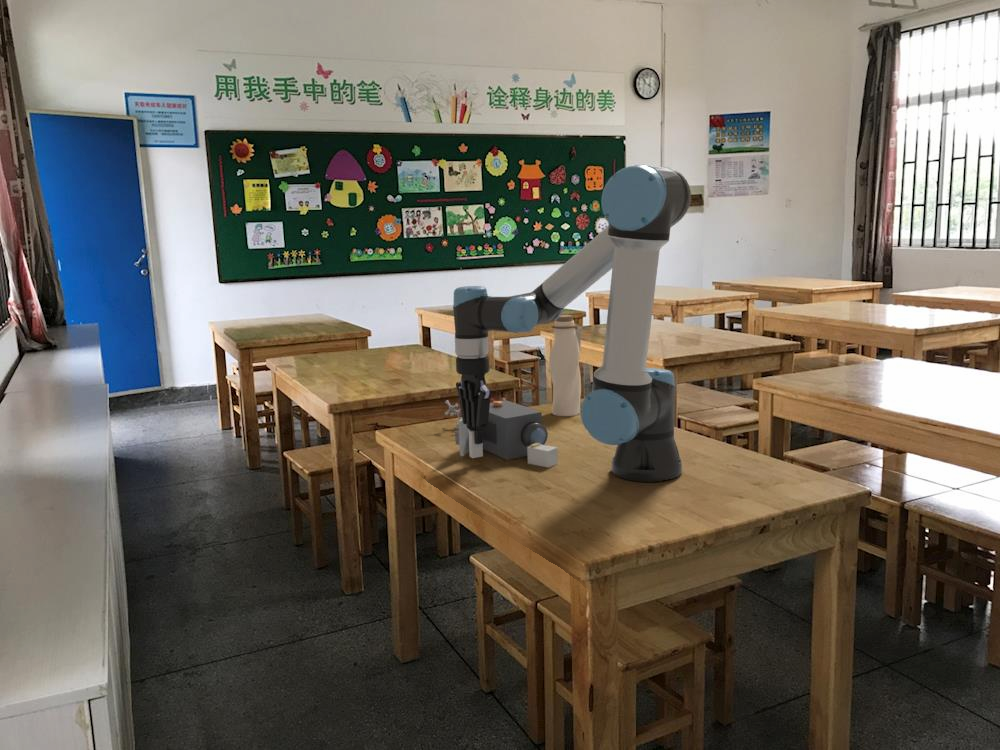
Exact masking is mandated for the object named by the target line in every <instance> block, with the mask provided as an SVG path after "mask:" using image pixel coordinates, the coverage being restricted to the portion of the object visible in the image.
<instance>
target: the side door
mask: <svg viewBox="0 0 1000 750" xmlns="http://www.w3.org/2000/svg"><path fill="white" fill-rule="evenodd" d="M457 423H459V427H458V429H456V430H455V434H454V436H455V437H454V438H455V445H459V456H460V457H464V456H465V455H466V454H468V452H469V429H468V428H467V426H466V424H463V421H462V417H461V419H460V420H459V419H458V422H457Z"/></svg>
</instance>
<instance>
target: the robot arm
mask: <svg viewBox="0 0 1000 750" xmlns="http://www.w3.org/2000/svg"><path fill="white" fill-rule="evenodd" d="M691 200H692V193H691V188H690V183H688V181H687V178H685V176H684V175H683V174H682V173H680V172H679V171H678V170H676V169H675V168H671V167H668V166H653V165H647V164H646V165H645V164H635V165H632V166H631V165H630V166H626V167H623V168H621V169H619V170H618V171H616V172H615V173H614V174H613V175H612V176H610V178H609V179H608V180H607V182H606V183H605V186H604V188H603V190H602V194H601V200H600V201H601V203H600V204H601V210H602V213H603V216H605V218H606V220H607V222H608V225H607V226H606V227H605V228H604V229H603V230H602V231H600V232H599V233H598V234H597V235H596V236H595V237H593V238H592V239H591V240H590V241H588V242H587V244H585V245H584V246H582V248H581V249H579V251H577V252H576V253H575V254H573V256H571V257H570V258H569V259H568V260H566V262H565V263H564V264H563V265H561V266H560V267H559V268H558V269H557V270H556V271H554V272H553V273H552V274H551V275H549V277H547V278H546V279H545V280H544V281H543V282H542V283H541V284H540V285H538V286H537V287H536V288H534V289H533V291H531V292H527V293H522V294H515V295H511V296H492V295H491V296H490V295H488V290H487V288H486V287H485V286H481V285H472V286H471V285H470V286H469V285H467V286H458V287H455V289H454V291H453V305H452V309H453V318H454V319H453V321H454V332H455V333H454V351H455V353H454V354H455V355H456V356H457V357H456V358H455V368H456V369H455V370H456V371H455V372H456V373H457V374H458V375H461V377H460V381H458V382H455V386H456V387H455V388H456V390H457V392H458V393H457V394H458V395H457V396H458V401H459V409H460V408H461V411H460V413H461V418H462V421H463V424H466V426H467V428H468V429H469V451H468V452H469V453H468V454H469V457H470V458H472V459H475V458H481V457H484V449H483V443H482V442H483V441H482V430H483V429H485V428H487V427H488V419H489V408H490V399H492V396H493V390H492V389H491V388H488V387H487V386H486V385H487V381H486V376H485V375H486V374H488V373H489V372H490V369H491V367H490V356H489V355H488V354H489V351H490V349H489V343H490V339H489V331H493V332H505V333H513V334H520V333H529V332H531V331H533V329H534V328H535V327H537V326H540V325H546V324H550V323H552V322H553V321H554V322H555V320H556V319H557V318H559V317H560V315H563V311H564V309H565V307H567V306H569V305H570V303H572V302H573V301H574V300H576V299H577V298H578V297H579V296H581V295H582V294H583V293H584V292H586V291H587V290H588V289H589V288H590V287H592V286H593V285H595V283H596V282H598V281H599V280H600V279H602V277H604V276H605V275H606V274H608V273H609V272H610V271H611V277H610V279H611V280H610V287H609V289H610V290H609V298H608V306H607V307H608V308H607V315H606V325H605V337H604V343H603V344H604V346H603V353H602V355H603V356H602V364H601V366H600V367H598V368H597V369H596V370H595V371H594V372H593V377H592V386H591V387H592V388H591V391H590V392H589V393H588V394H587V395H586V396H585V398H584V399H583V401H582V403H581V405H580V406H581V407H580V418H581V422H582V425H583V427H584V428H585V430H587V432H588V433H589V435H590V436H591V437H592V438H593V439H594V440H596V441H597V442H599V443H601V444H604V445H609V446H616V445H617V446H616V449H615V453H614V455H613V458H612V460H611V472H612V474H613V475H615V476H616V477H618V478H620V479H624V480H627V481H633V482H634V481H635V482H640V483H641V482H644V483H645V482H646V483H652V482H653V483H654V482H655V481H656V483H657V481H658V482H664V481H663V480H666V481H669V480H668V479H671V480H673V479H672V478H674V479H676V478H675V477H677V476H678V477H680V476H681V475H682V474H681V473H682V472H683V462H682V461H683V460H682V459H681V457H680V454H679V453H680V452H679V450H678V447H677V443H676V441H675V400H676V399H675V397H676V396H675V390H676V384H675V375H674V373H673V371H671V370H669V369H663V368H655V367H647V360H648V359H647V358H648V350H649V343H650V335H651V325H652V318H653V317H652V316H653V308H654V301H655V293H656V292H655V291H656V283H657V277H658V276H657V275H658V266H659V257H660V250H661V249H662V248H663V247H665V245H667V243H668V242H670V234H671V228H672V227H673V226H675V225H676V224H677V223H679V222H680V221H681V220H682V219H683V218H684V217H685V215H686V214H687V212H688V210H689V208H690V205H691ZM680 474H681V475H680ZM679 475H680V476H679ZM678 477H677V478H678Z"/></svg>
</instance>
